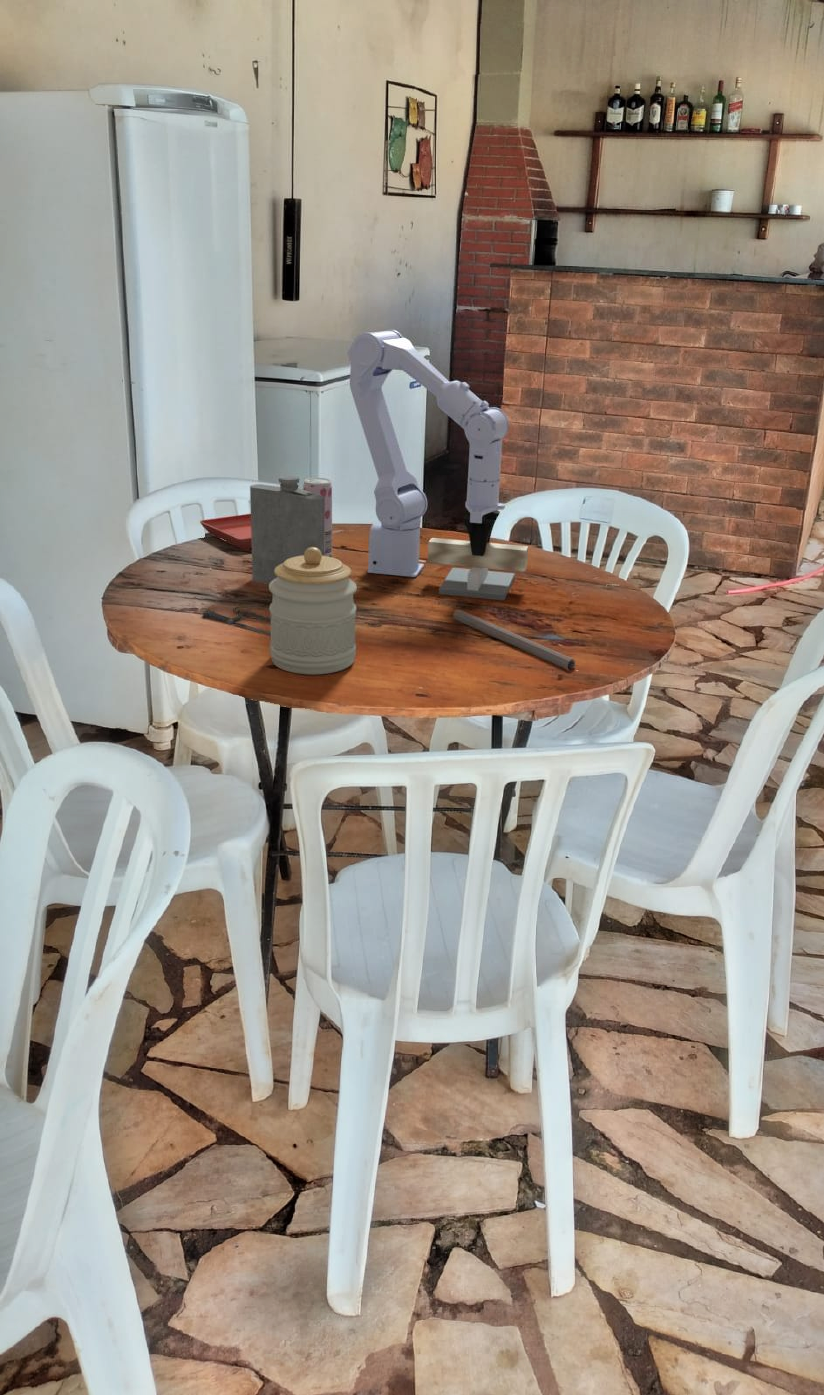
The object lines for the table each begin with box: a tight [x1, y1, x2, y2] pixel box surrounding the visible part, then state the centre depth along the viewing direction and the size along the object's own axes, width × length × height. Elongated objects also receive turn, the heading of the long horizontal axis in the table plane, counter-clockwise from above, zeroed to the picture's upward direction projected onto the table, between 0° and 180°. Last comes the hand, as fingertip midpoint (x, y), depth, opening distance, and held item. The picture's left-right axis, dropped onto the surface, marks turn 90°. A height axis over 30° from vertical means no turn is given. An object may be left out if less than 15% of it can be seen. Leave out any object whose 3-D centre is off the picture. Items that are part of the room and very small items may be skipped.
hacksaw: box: [201, 606, 271, 637], centre depth 180 cm, size 24×10×1 cm, turn 57°
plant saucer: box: [199, 513, 252, 550], centre depth 229 cm, size 18×18×3 cm
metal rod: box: [452, 609, 576, 671], centre depth 176 cm, size 2×27×2 cm, turn 37°
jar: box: [268, 547, 358, 675], centre depth 162 cm, size 13×13×18 cm
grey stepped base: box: [438, 567, 516, 601], centre depth 202 cm, size 12×14×4 cm
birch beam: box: [427, 537, 529, 573], centre depth 201 cm, size 18×3×4 cm, turn 78°
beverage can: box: [302, 477, 333, 557], centre depth 215 cm, size 6×6×15 cm
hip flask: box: [249, 475, 325, 585], centre depth 195 cm, size 16×4×20 cm, turn 57°
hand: (479, 552), depth 201 cm, fingers closed on birch beam, 3 cm apart
